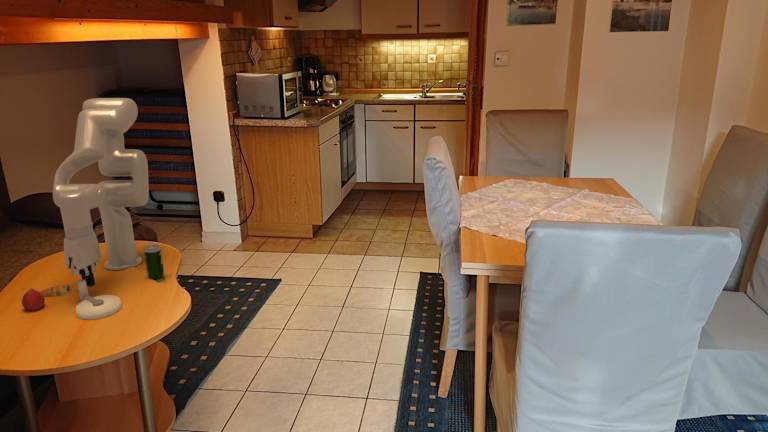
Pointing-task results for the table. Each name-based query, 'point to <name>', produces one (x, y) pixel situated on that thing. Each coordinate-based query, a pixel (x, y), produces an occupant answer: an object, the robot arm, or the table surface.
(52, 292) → the pastry
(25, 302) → the onion
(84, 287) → the dial
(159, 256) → the beer can
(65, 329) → the table surface
